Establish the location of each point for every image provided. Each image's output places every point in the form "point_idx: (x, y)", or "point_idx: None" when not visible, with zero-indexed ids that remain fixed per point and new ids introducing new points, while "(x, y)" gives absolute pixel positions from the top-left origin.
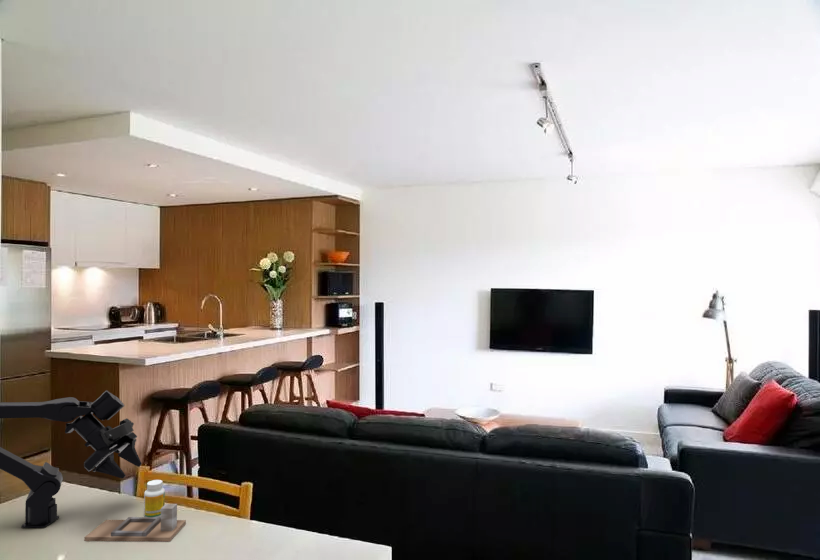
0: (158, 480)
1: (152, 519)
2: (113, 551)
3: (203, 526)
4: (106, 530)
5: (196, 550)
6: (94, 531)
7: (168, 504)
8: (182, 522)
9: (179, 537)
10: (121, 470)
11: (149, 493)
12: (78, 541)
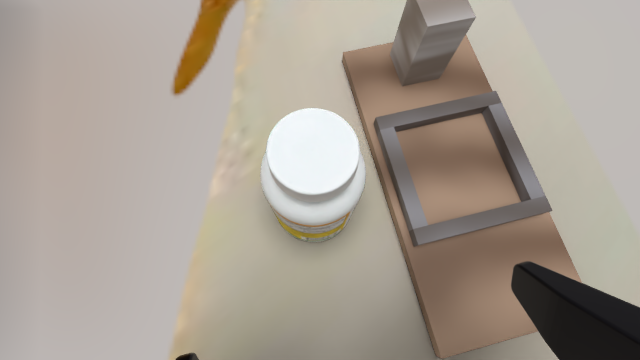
0: (280, 145)
1: (397, 141)
2: (579, 151)
3: (342, 6)
4: None
5: None
6: None
7: (429, 13)
8: (362, 52)
9: None
10: (585, 301)
11: (360, 164)
12: None
